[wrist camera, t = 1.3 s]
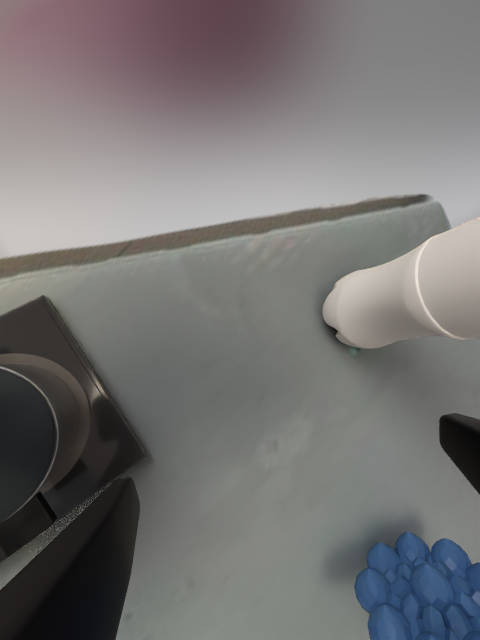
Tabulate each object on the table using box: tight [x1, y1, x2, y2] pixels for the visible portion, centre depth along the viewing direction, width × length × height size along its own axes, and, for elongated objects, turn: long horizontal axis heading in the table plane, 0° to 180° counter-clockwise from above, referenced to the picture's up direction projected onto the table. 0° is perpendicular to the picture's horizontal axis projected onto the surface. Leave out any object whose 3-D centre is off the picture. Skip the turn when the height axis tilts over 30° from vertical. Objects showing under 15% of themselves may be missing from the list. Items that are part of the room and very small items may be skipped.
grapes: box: [354, 532, 480, 640], centre depth 21 cm, size 12×7×12 cm, turn 100°
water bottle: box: [323, 216, 480, 348], centre depth 18 cm, size 7×7×25 cm
